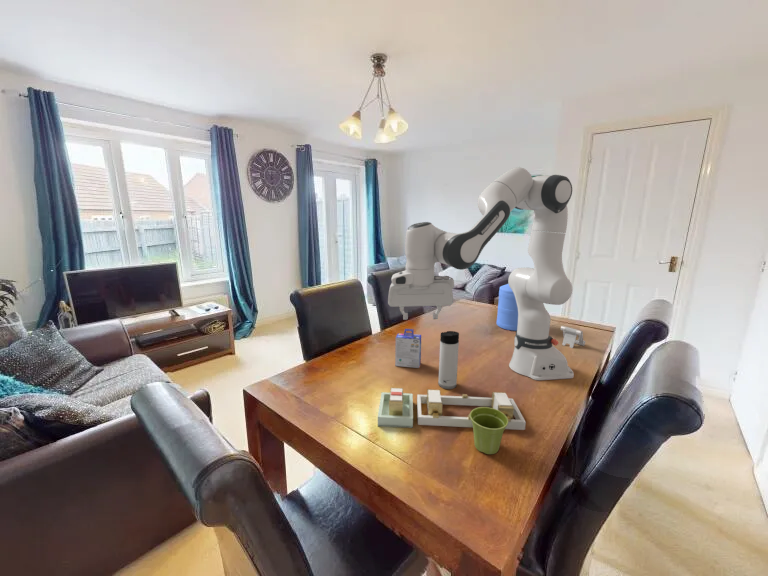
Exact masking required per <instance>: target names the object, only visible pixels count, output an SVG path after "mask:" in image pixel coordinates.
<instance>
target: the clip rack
mask: <svg viewBox="0 0 768 576" xmlns="http://www.w3.org/2000/svg"><path fill="white" fill-rule="evenodd" d="M416 396H417V397H416V405H417V406H416V408H417V409H416V410H417V413H416V414H417V425H418V426H436V427H437V426H438V427H441V426H442V427H454V428H455V427H457V428H458V427H459V428H473V424H472V421H471V419H470V414H467V416H452V415H451V416H447V415H446V416H445V415H442V416H439V415H438V413H433V416H430V415H428V414H427V415H424V414H422V404H425V405H427V394H417V395H416ZM440 396H441V402H442V405H450V406H453V405H454V406H469V407H470V406H473V407H489V408H491V402H492V397H485V396H484V397H483V396H482V397H481V396H469V395H468V394H465V393H461V395H459V396H458V395H457V396H456V395H440ZM508 398H509V397H508ZM509 400H510V402H511V404H512V406H513V408H514V411H513V417H514V418H515V419H514V418H513V419H510V417H508V416H506V417H507V418H508V425H507V426H506V427H505V430H515V431H516V430H517V431H519V430H520V431H524V430H526V420H525V418H524V416H523V414H522V413H521V411H520V409H519V408H518V405H517V403H516V402H515V400H514V398H509Z"/></svg>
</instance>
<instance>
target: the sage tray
mask: <svg viewBox="0 0 768 576" xmlns="http://www.w3.org/2000/svg"><path fill="white" fill-rule="evenodd" d="M413 396H414V394H413V393H407V392H403V416H391V415H389V400H390V392H386V391H385V392H380V399H379V400H380V401H379V405H378V406H379V408H378V412H377V413H378V414H377V427H384V428H385V427H389V428H404V429H405V428H406V429H407V428H409V429H412V428H414V427H413V426H414V425H413V424H414V410H413V409H414V404H413V403H414V401H413Z"/></svg>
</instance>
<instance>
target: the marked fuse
mask: <svg viewBox="0 0 768 576" xmlns="http://www.w3.org/2000/svg"><path fill="white" fill-rule="evenodd" d="M389 391H390V392H389V393H390V400H389V415H391V416H403V393H404V387H390V390H389Z"/></svg>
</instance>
